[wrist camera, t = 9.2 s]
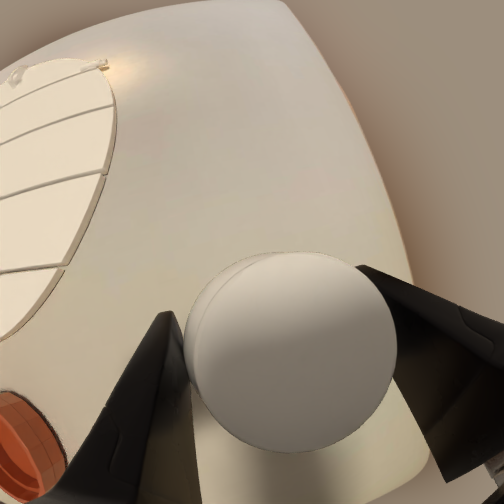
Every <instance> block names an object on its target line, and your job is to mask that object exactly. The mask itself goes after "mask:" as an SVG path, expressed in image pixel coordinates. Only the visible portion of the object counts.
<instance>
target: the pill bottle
mask: <svg viewBox="0 0 504 504" xmlns="http://www.w3.org/2000/svg"><path fill="white" fill-rule="evenodd" d="M183 351H184V359H185V365H186V369H187V372H188V375H189V378H190V381H191V383H192V385H193V387H194V389H195V390H196V392H197V394H198V395H199V397H200V398H201V399H202V400H203V402H204V403H205V405H206V406H207V408H208V410H209V411H210V413H211V414H212V415H213V417H214V418H215V419H216V420H217V421H218V423H219V424H220V425H221V426H222V427H223V428H224V429H226V430H227V431H228V432H229V433H230V434H232V435H233V436H235V437H236V438H238V439H239V440H241V441H243V442H245V443H247V444H249V445H251V446H254V447H257V448H259V449H263V450H267V451H273V452H278V453H301V452H309V451H314V450H318V449H321V448H324V447H327V446H330V445H332V444H334V443H336V442H338V441H340V440H342V439H344V438H345V437H347V436H349V435H350V434H352V433H353V432H354V431H356V430H357V429H358V428H360V426H361V425H363V424H364V422H365V421H366V420H367V419H368V418H369V417H370V416H371V415H372V414H373V413H374V412H375V410H376V409H377V407H378V406H379V404H380V403H381V401H382V400H383V398H384V396H385V394H386V392H387V390H388V387H389V385H390V382H391V380H392V376H393V373H394V369H395V365H396V356H397V340H396V331H395V326H394V321H393V318H392V315H391V312H390V310H389V308H388V306H387V304H386V302H385V300H384V298H383V296H382V294H381V293H380V292H379V291H378V289H377V288H376V286H375V285H374V284H373V283H372V282H371V281H370V280H369V279H368V278H367V277H366V276H365V275H364V274H363V273H362V272H360V271H359V270H358V269H356V268H355V267H353V266H351V265H350V264H348V263H347V262H344V261H342V260H340V259H337V258H335V257H332V256H329V255H326V254H322V253H317V252H299V251H297V252H286V253H285V252H273V253H263V254H259V255H254V256H251V257H248V258H245V259H243V260H240V261H238V262H236V263H234V264H232V265H231V266H229V267H227V268H226V269H224V270H223V271H221V272H220V273H219V274H218V275H216V276H215V277H214V278H213V279H212V280H211V281H210V282H209V283H208V284H207V285H206V286H205V288H204V289H203V290H202V291H201V293H200V294H199V296H198V297H197V299H196V301H195V303H194V305H193V307H192V309H191V311H190V313H189V316H188V319H187V322H186V327H185V332H184V343H183Z"/></svg>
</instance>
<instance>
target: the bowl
mask: <svg viewBox="0 0 504 504" xmlns="http://www.w3.org/2000/svg"><path fill="white" fill-rule="evenodd" d="M65 470H66V468H65V463H64V457H63V455H62V453H61V450H60V448H59V445H58V443H57V441H56V439H55V437H54V435H53V434H52V432H51V431H50V429H49V428H48V426H47V425H46V423H45V422H44V421H43V420H42V418H41V417H40V416H39V415H38V414H37V413H36V412H35V411H34V410H33V409H32V408H31V407H30V406H29V405H28V404H27V403H26V402H25V401H24V400H22V399H20V398H19V397H17V396H15V395H13V394H11V393H10V392H0V488H1V489H2V490H3V491H4V492H5V493H7V494H8V495H10V496H11V497H12V498H14V499H15V500H17V501H18V502H21V503H27V502H29V501H31V500H33V499H36V498H38V497H40V496H42V495H44V494H45V493H47V492H48V491H49V490H50V489H52V488H53V487H54V486H55V484H56V483H57V482H58V480H59V479H60V478H61V476H62V474H63V473H64V471H65Z"/></svg>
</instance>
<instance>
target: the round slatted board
mask: <svg viewBox="0 0 504 504" xmlns="http://www.w3.org/2000/svg"><path fill="white" fill-rule="evenodd" d="M107 64H108V61H107V59H105V60H101V59H98V60H95V61H92V62H87V61H84V60H80V59H73V58H62V59H55V60H50V61H46V62H43V63H40V64H37V65H34V66H32V67H30V68H28V66H27V65H24V66H20V67H18V68H16V69H15V70H14V71H13V72H12V73H11V74H10V76H9V77H8V80H7V81H6V82H4V83H3V84H1V85H0V274H1V273H9V272H17V271H25V270H32V269H40V268H48V267H56V266H64V265H68V264H69V262H70V260H71V258H72V256H73V255H74V253H75V251H76V249H77V247H78V245H79V243H80V241H81V239H82V237H83V235H84V232H85V230H86V228H87V226H88V224H89V221H90V219H91V217H92V214H93V212H94V209H95V207H96V205H97V202H98V199H99V197H100V194H101V191H102V188H103V185H104V182H105V177H104V176H103V175H106V174H107V172H108V169H109V165H110V162H111V157H112V153H113V148H114V142H115V135H116V123H117V114H116V104H115V99H114V95H113V92H112V90H111V87H110V85H109V83H108V80H107V79H106V77H105V75H104V74H103V73H102V72H101V70H100V69H97V68H99V67H102V66H105V65H107ZM27 68H28V69H27ZM63 272H64V270H62V269H59V268H54V269H46V270H37V271H29V272H21V273H13V274H5V275H0V341H2V340H4V339H6V338H8V337H9V336H11V335H12V334H14V333H15V332H16V331H17V330H19V329H20V328H21V327H22V326H23V325H24V324H25V323H26V322H27V321H28V320H29V319H30V318H31V317H32V316H33V315H34V314H35V312H36V311H37V310H38V309H39V308H40V306H41V305H42V304H43V302H44V301H45V300H46V298H47V297H48V296H49V294H50V293H51V291H52V290H53V288H54V287H55V285H56V284H57V282H58V281H59V279H60V277H61V276H62V274H63Z"/></svg>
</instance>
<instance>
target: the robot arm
mask: <svg viewBox="0 0 504 504" xmlns="http://www.w3.org/2000/svg"><path fill="white" fill-rule="evenodd" d="M355 268H356V269H358V270H359V271H360V272H362V273H363V274H364V275H365V276H366V277H367V278H368V279H369V280H370V281H371V282H372V283H373V284H374V285H375V286H376V288H377V289H378V291H379V292H380V293H381V294H382V296H383V298H384V300H385V302H386V304H387V306H388V308H389V310H390V312H391V315H392V318H393V321H394V326H395V331H396V340H397V356H396V365H395V369H394V373H393V376H392V377H393V379H394V381H395V382H396V384H397V386H398V388H399V390H400V392H401V393H402V395H403V397H404V399H405V401H406V403H407V405H408V406H409V408H410V410H411V412H412V414H413V416H414V418H415V420H416V422H417V424H418V426H419V428H420V430H421V432H422V434H423V435H424V438H425V440H426V442H427V444H428V446H429V448H430V450H431V452H432V455H433V457H434V458H435V461H436V463H437V465H438V467H439V469H440V472H441V474H442V476H443V478H444V480H445V482H446V483H448V482H450V481H452V480H454V479H456V478H458V477H460V476H462V475H464V474H466V473H468V472H469V471H471V470H473V469H475V468H476V467H478V466H480V465H482V464H484V466H485V467H486V469H487V471H488V473H489V475H490V476H491V478H493V479H494V480H495V482H496V484H497V486H498V489H497V490H496V491H495V492H494V493H493V494H492V495H491V496H489V497H488V499H486V500H485V501H484V502H483V503H482V504H504V324H503V323H500V322H497V321H495V320H492V319H489V318H487V317H484V316H482V315H479V314H477V313H475V312H472V311H470V310H468V309H465V308H463V307H461V306H458V305H457V304H455V303H452V302H450V301H448V300H446V299H443V298H441V297H439V296H436V295H434V294H432V293H429V292H428V291H425V290H423V289H421V288H418V287H416V286H414V285H411V284H409V283H407V282H404V281H402V280H400V279H397V278H395V277H393V276H390V275H388V274H385V273H383V272H381V271H378V270H376V269H373V268H371V267H369V266H366V265H359V266H356V267H355ZM105 406H106V407H104V408H103V409H102V411H101V413H100V415H99V417H98V419H97V420H96V422H95V424H94V426H93V427H92V429H91V431H90V433H89V434H88V436H87V437H86V439H85V441H84V442H83V444H82V445H81V447H80V449H79V450H78V452H77V453H76V455H75V456H74V458H73V459H72V461H71V462H70V464H69V465H68V467H67V468H66V470H65V471H64V473H63V474H62V476H61V478H60V479H59V480H58V482H57V483H56V484H55V486H54V487H53V488H52V489H50V490H49V491H48V492H47V493H45V494H44V495H42V496H40V497H38V498H36V499H33V500H31V501H29V502H27V503H24V504H202V498H201V491H200V484H199V476H198V467H197V459H196V449H195V439H194V428H193V416H192V402H191V387H190V379H189V375H188V372H187V369H186V365H185V359H184V351H183V336H182V332H181V329H180V327H179V324H178V322H177V319H176V317H175V315H174V313H173V311H165V312H160V313H159V314H158V315H157V316H156V318H155V319H154V321H153V323H152V324H151V326H150V328H149V329H148V331H147V333H146V334H145V336H144V338H143V339H142V341H141V343H140V344H139V346H138V348H137V349H136V351H135V353H134V355H133V356H132V358H131V360H130V361H129V363H128V365H127V367H126V368H125V370H124V372H123V374H122V375H121V377H120V379H119V381H118V382H117V384H116V386H115V388H114V390H113V391H112V393H111V395H110V397H109V399H108V400H107V402H106V404H105Z"/></svg>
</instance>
